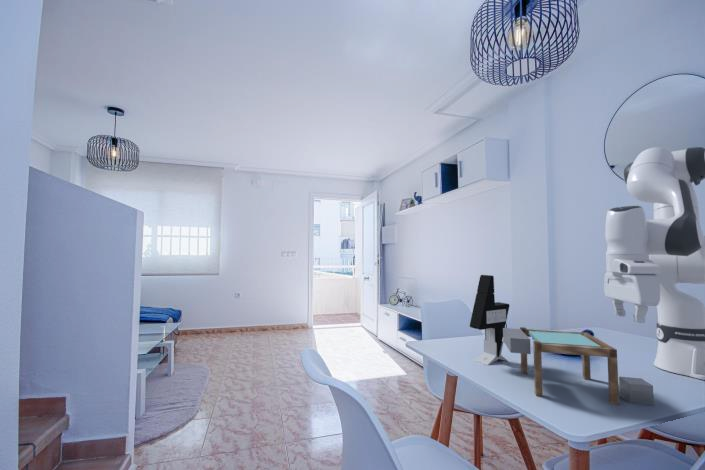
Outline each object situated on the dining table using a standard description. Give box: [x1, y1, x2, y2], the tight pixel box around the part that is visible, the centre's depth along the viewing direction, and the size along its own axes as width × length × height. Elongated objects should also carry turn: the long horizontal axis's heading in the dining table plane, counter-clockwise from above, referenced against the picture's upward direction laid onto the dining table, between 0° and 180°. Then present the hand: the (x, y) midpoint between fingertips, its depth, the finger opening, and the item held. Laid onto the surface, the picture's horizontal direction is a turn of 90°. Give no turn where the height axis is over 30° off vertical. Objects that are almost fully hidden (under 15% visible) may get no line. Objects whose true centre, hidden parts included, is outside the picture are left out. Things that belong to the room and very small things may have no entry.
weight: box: [618, 376, 655, 407], centre depth 84 cm, size 5×5×5 cm
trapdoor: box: [502, 327, 601, 355], centre depth 95 cm, size 22×14×4 cm, turn 74°
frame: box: [519, 326, 620, 406], centre depth 93 cm, size 18×18×14 cm
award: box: [469, 274, 510, 366], centre depth 116 cm, size 15×5×30 cm, turn 117°
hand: (629, 319), depth 86 cm, fingers open, 8 cm apart
